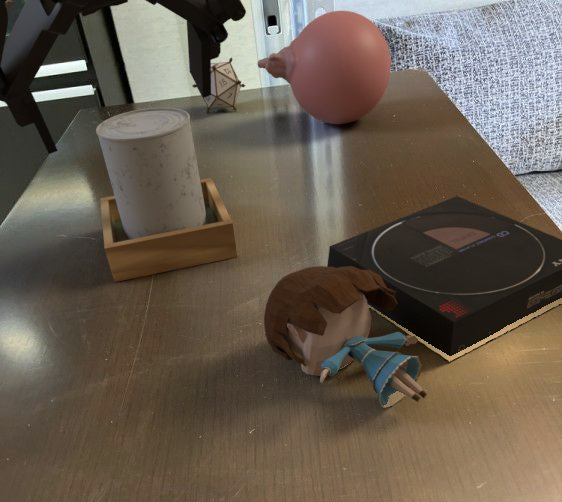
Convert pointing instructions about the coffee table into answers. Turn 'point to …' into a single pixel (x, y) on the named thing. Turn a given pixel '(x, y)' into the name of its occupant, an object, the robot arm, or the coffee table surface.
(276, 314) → the figurine
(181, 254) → the wooden box
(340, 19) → the balloon
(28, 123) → the robot arm
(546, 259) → the portable cd player
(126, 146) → the speckled white tin can
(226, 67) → the game die
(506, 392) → the coffee table surface
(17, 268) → the coffee table surface
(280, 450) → the coffee table surface
